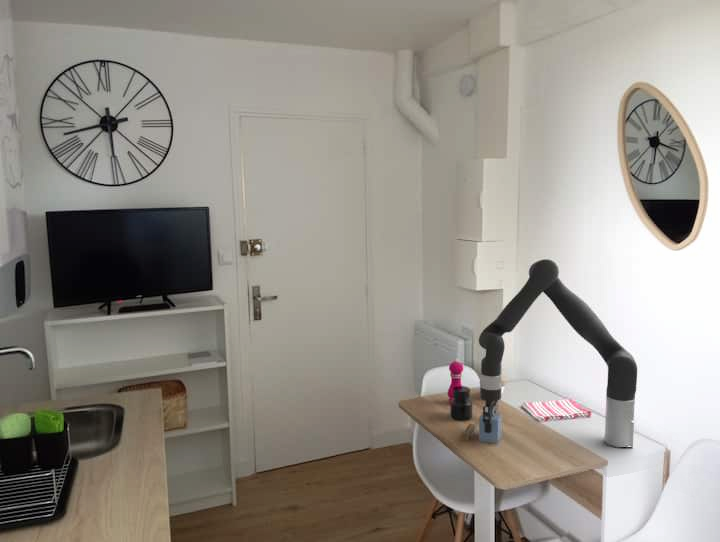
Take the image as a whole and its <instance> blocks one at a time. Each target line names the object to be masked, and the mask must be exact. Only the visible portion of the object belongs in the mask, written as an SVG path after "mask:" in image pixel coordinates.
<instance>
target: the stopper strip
mask: <svg viewBox="0 0 720 542" xmlns="http://www.w3.org/2000/svg"><path fill="white" fill-rule="evenodd" d="M475 427H476V426H475V424H474V423H469V424H468V425H467V426H466V427H465V429H464V431H463V433H462V441H466V442H469V440H470V438H471V437H472V436H473V434H474V432H475V431H474V430H475ZM471 435H472V436H471Z"/></svg>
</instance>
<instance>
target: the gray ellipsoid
mask: <svg viewBox="0 0 720 542" xmlns="http://www.w3.org/2000/svg"><path fill="white" fill-rule="evenodd" d="M501 441H502V437H501V438H500V440H499V442H498V443H500V442H501ZM482 442H483V443H486V444H493V443H492V442H486V441H482Z"/></svg>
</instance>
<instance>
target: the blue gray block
mask: <svg viewBox="0 0 720 542" xmlns="http://www.w3.org/2000/svg"><path fill="white" fill-rule="evenodd" d="M502 415H503V414H502V413H498V412H497V413H494V417H493V418H492V422H491V433H485V423H483V411H482V412H481V414H480V416H479V418H478V442H483V441H486V442H492V443H491V444H495V445H496V444H497V445H498V444H499V443H500V442H499V440H500V438H501V439H502V417H503V416H502ZM486 419H487V420H488V417H486Z"/></svg>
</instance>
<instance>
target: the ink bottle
mask: <svg viewBox="0 0 720 542" xmlns="http://www.w3.org/2000/svg"><path fill="white" fill-rule="evenodd" d="M470 398H471V388H470V387H468V386H463V385H462V386H456V387H454V388H453V399H452V400H451V402H450V404H449V407H450V410H449V412H450V415H449V416H450V418H451V419H452V420H455V421H461V422H467V420H468V421H470V420H472V418H473V410H474V409H473V408H474V407H473V403H474V402H473V401H472V400H471V399H470Z"/></svg>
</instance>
